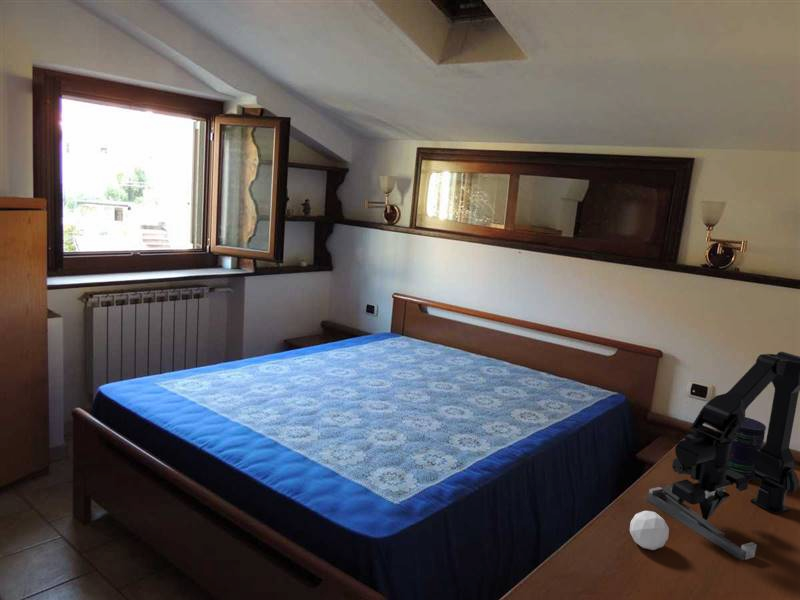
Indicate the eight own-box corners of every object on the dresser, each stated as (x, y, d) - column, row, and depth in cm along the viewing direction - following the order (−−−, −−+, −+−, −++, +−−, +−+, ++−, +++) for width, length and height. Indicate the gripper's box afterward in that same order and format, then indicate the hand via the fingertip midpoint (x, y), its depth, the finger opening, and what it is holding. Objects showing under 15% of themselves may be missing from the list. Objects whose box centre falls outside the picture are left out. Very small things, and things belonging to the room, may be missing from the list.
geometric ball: (644, 562, 134) (637, 542, 129) (627, 530, 140) (620, 510, 136) (678, 549, 133) (672, 529, 129) (659, 518, 140) (654, 497, 135)
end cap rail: (657, 498, 157) (659, 486, 157) (754, 557, 134) (756, 544, 134) (646, 500, 155) (648, 489, 155) (741, 560, 133) (744, 547, 132)
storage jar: (710, 470, 176) (720, 420, 174) (724, 461, 183) (733, 413, 180) (748, 484, 169) (759, 432, 166) (761, 475, 176) (771, 425, 173)
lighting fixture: (725, 542, 140) (729, 525, 139) (715, 543, 139) (719, 526, 138) (668, 499, 158) (671, 483, 157) (659, 500, 157) (662, 484, 156)
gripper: (712, 436, 154) (703, 494, 157) (656, 448, 145) (648, 509, 149) (754, 455, 144) (743, 517, 147) (697, 470, 136) (687, 535, 139)
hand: (705, 519), depth 146 cm, fingers closed
